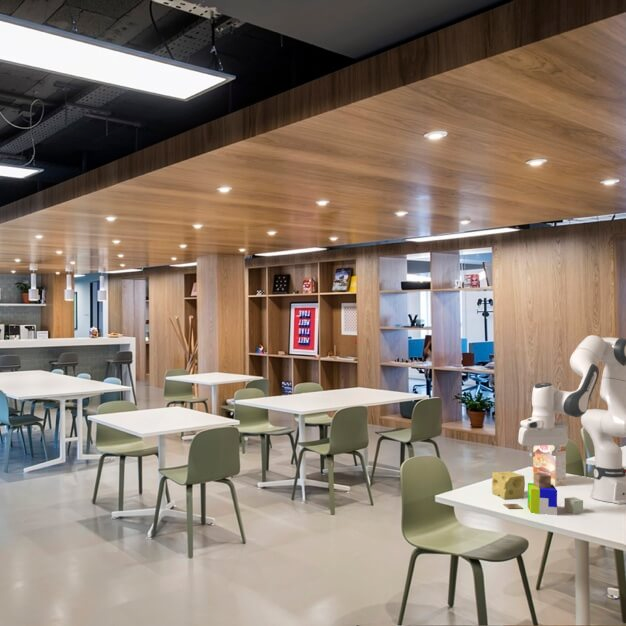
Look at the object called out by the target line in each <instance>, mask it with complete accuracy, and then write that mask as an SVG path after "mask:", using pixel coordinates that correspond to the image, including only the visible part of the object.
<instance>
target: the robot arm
mask: <svg viewBox="0 0 626 626" xmlns="http://www.w3.org/2000/svg"><path fill="white" fill-rule="evenodd" d="M600 362H603V363H604V367H603V372H602V376H601V382H600V383H601V384H600V388H599V396H600V397H601V399H602V400H603V401H604V402H606V404H607V409H602V408H601V409H599V408H591V409H590V408H589V404H590V399H591V397H592V394H593V392H594V389H595V387H596V385H597V382H598V379H599V376H600V371H599V370H600V369H599V368H598V365H599V364H600ZM569 366H570V368H571V370H572V371H573V372H574V373H575V374H576V375H578V376H579V377H581V381H580V382H579V383H580V384H579V385H578V388H577V389H576V390H573V391H567V390H561V389H558V388H556V387H554V385H553V383H550V382H540V383H536V384H535V385H534V386H533V388H532V392H531V393H532V394H531V405H532V413H531V416H530V417H527V418H526V419H523V420H521V421H520V423H519V424H520V426H521V427H519V431H518V439H517V440H518V444H519V445H521V446H522V447H526V448H527V450H528V451H529V456H530V457H532V458H533V456H535V452H533V446H540V445H554V447H555V449H554V451H552V456H557V451H558V450H559V448H560V445H566V446H567V445H568V443H569V437H568V436H569V435H568V425H567V424H566V423H565V422H563V421H561V422H559V421H555V419H556V415H555V414H559V415H566V416H570V417H573V418H580V422H581V426H582V428H583V429H584V430H585V431H586V432H587V433H588V435H589V437H590V439H591V441H592V444H593V448H594V465H593V485H592V489H591V494H590V497H591V498H593V499H595V500H598V501H602V502H608V503H613V504H618V505H624V504H625V505H626V468H625V467H623V450H622V448H621V447H620V446H619V444H617V443H616V442H615V440H614V437H616V438H620V439H621V438H622V439H623V438H626V338H623V337H619V338H618V337H614V336H613V337H611V336H607V337H600V336H598V335H596V334H591V335H587V336H586V337H585V338H584V339H583V340H582V341H581V342H580V343H579V344H578V345H577V347H575V349H574V351H573V352H572V354H571V356H570V358H569Z"/></svg>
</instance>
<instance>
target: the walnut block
mask: <svg viewBox="0 0 626 626" xmlns="http://www.w3.org/2000/svg"><path fill="white" fill-rule="evenodd" d="M533 483H534V486H536V487H537V488H551V476H550V475H548V474H546V473H534V479H533Z"/></svg>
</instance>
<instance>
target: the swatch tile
mask: <svg viewBox="0 0 626 626" xmlns="http://www.w3.org/2000/svg"><path fill="white" fill-rule="evenodd" d="M502 506H504V507H505V508H507V509H508V510H524V507H523V506H521V505H520V504H518V503H503V505H502Z"/></svg>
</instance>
